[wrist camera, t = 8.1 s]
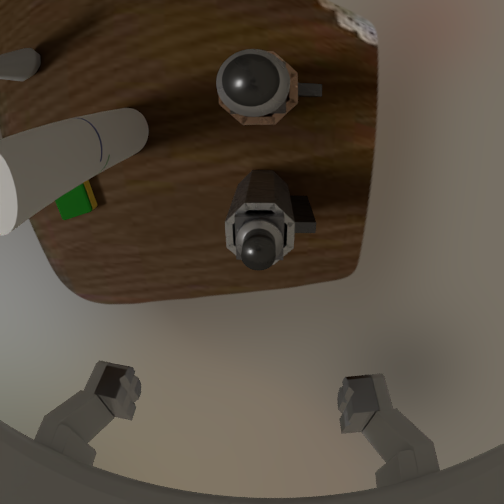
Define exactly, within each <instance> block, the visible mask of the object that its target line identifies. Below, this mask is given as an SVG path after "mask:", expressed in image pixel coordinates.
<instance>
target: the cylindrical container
mask: <svg viewBox="0 0 504 504" xmlns="http://www.w3.org/2000/svg"><path fill="white" fill-rule="evenodd" d="M148 134H149V129H148V124H147V121H146V119H145V117H144V116H143V115H142V114H141V113H140V112H139V111H137V110H135V109H132V108H123V109H116V110H111V111H105V112H99V113H94V114H89V115H85V116H80V117H75V118H71V119H67V120H63V121H59V122H55V123H51V124H47V125H44V126H40V127H37V128H33V129H30V130H27V131H24V132H21V133H18V134H15V135H12V136H9V137H6V138H3V139H0V236H2V235H7V234H8V233H10V232H11V231H13V230H14V229H15V228H17V227H18V226H19V225H20V224H22V223H23V222H24V221H26V220H27V219H29V218H30V217H31V216H33V215H34V214H36V213H37V212H39V211H40V210H41V209H43V208H44V207H46V206H47V205H49V204H50V203H52V202H53V201H55V200H56V199H58V198H59V197H61V196H62V195H64V194H66V193H67V192H69V191H70V190H72V189H74V188H75V187H77V186H78V185H80V184H82V183H83V182H85V181H87V180H89V179H90V178H92V177H94V176H95V175H97V174H99V173H101V172H102V171H104V170H106V169H108V168H110V167H112V166H113V165H115V164H117V163H119V162H121V161H123V160H125V159H127V158H129V157H131V156H132V155H134V154H136V153H138V152H139V151H140V150H141V149H142V148H143V147H144V146H145V144H146V142H147V139H148Z"/></svg>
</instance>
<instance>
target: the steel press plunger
mask: <svg viewBox="0 0 504 504" xmlns="http://www.w3.org/2000/svg"><path fill="white" fill-rule="evenodd" d="M265 212H266V210H258V213H265ZM236 247H237V250H238V252H239V253H240V255H241V259H242V261H243V263H244V264H245V265H246V266H247V267H249V268H250V269H253V270H264V269H267V268H269V267H270V266H271V265H272V264H273V263H274V261H275V258H276V257H277V256H278V255H279V254H280V252H281V250H282V247H283V237H282V233H281V231H280V230H279V228H278V227H277V226H276V225H275V224H274V223H272V222H270V221H267V220H263V219H255V220H251V221H248V222H246V223H245V224H244V225H242V226H241V228H240V229H239V231H238V233H237V236H236Z"/></svg>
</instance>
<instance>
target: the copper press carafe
mask: <svg viewBox="0 0 504 504" xmlns="http://www.w3.org/2000/svg"><path fill="white" fill-rule="evenodd" d="M267 52H269V53H272V54H273V55H275V56H276V57H278V58H279V59H280V60H281V61H282V62H283V63H284V65H285V66H286V68H287V70H288V73H289V76H290V90H289V93H288V96H287V98H286V100H285V101H284V102H283V104H282V105H281V106H280V107H279V108H277V109H276V110H275V111H273V112H271V113H269V114H267V115H264V116H259V117H248V116H243V115H240V114H237V113H235V112H233V111H232V110H230V109H229V108H228V107H227V106H226V105H225V104H224V103H223V102H222V100H221V99H220V97H219V105H220V106H222V107H223V108H224V109H225V110H226V111H227V112H228V113H230V114H231V115H232V116H233V117H234V118H235V119H236V120H237V121H239V122H240V123H241V124H242V125H275V124H276V123H277V122H278V121H279V120H280V119H281V118H283V117H284V116H285V115H286V114H287V113H288V112H289V111H290V110H291V109H292V108H293V107H295V106H296V105H297V104H298V97H322V84H310V83H298V73H297V72H296V71H295V70H294V69H293V68H292V67H291V66H290V65H289V64H288V63H286V62H285V61H284V60H283V59H282V58H281V57H280V56H279V55H277V54H276V53H275V52H274V51H267Z"/></svg>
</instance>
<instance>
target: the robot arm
mask: <svg viewBox="0 0 504 504" xmlns="http://www.w3.org/2000/svg"><path fill="white" fill-rule="evenodd" d="M134 374H135V371H134V369H133V367H130V366H124V365H119V364H113V363H109V362H104V361H99V362H98V363H96V365H95V367H94V370H93V371H92V374H91V376H90V378H89V380H88V382H87V384H86V387H85V389H84V391H79V392H78V393H76V394H75V395H74V396H72V397H71V398H69V399H68V400H67V401H65V402H64V403H62V404H61V405H59V406H58V407H57V408H55V409H54V410H52V411H51V412H50V413H48V414H47V415H45V416H44V418H43V421H42V423H41V425H40V427H39V430H38V432H37V435H36V437H35V439H34V440H33V439H31V438H29V437H28V436H26V435H24V434H22V433H20V432H18V431H17V430H15V429H14V428H12V427H10V426H9V425H7V424H5V423H4V422H2V421H0V504H504V444H502V445H499V446H497V447H495V448H493V449H491V450H489V451H487V452H485V453H483V454H480V455H478V456H476V457H474V458H471V459H469V460H467V461H464V462H462V463H459V464H457V465H454V466H452V467H449V468H446V469H443V470H441V471H440V469H439V465H438V461H437V456H436V452H435V448H434V444H433V442H432V441H431V440H430V439H429V438H428V437H427V436H426V435H425V434H423V433H422V432H421V431H420V430H419V429H418V428H417V427H416V426H415V425H414V424H413V423H412V422H411V421H409V420H408V419H407V418H406V417H405V416H404V415H403V414H402V413H401V412H400V411H399V410H398V409H393V406H392V402H391V399H390V395H389V391H388V387H387V384H386V381H385V377H384V375H383V374H372V375H361V376H351V377H345V378H344V379H343V382H342V383H343V386H342V387H341V388H340V389H339V392H338V410H339V411H340V412H341V413H342V416H341V418H340V426H341V433H353V432H362V434H363V435H364V436H365V437H366V438H367V440H368V441H369V442H370V443H371V445H372V446H373V447H374V448H375V450H376V451H377V452H378V453H379V455H380V456H381V457H382V458H383V459H384V460H385V462H386V464H385V465H383V466H382V467H381V468H380V469H378V471H377V472H376V473H375V475H376V484H377V488H374V489H369V490H364V491H357V492H351V493H344V494H336V495H328V496H318V497H317V496H316V497H300V498H247V497H232V496H220V495H212V494H203V493H197V492H190V491H183V490H178V489H173V488H168V487H163V486H158V485H154V484H150V483H146V482H142V481H138V480H134V479H131V478H127V477H124V476H120V475H118V474H114V473H111V472H108V471H105V470H102V469H99V468H97V467H94V466H93V462H94V459H95V455H96V451H95V449H93V448H92V447H91V446H90V445H89V444H87V443H88V442H89V441H90V440H92V439H93V438H94V437H95V436H96V435H97V434H98V433H99V432H100V431H101V430H102V429H103V428H104V427H105V426H106V425H107V424H108V423H109V422H111V421H112V420H113V419H114V417H118V418H123V419H128V420H132V418H133V415H134V412H135V409H136V406H135V403H134V402H135V401H136V400H138V399H139V397H140V394H141V383H140V380H139V378H138V377H136V376H135V375H134Z"/></svg>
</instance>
